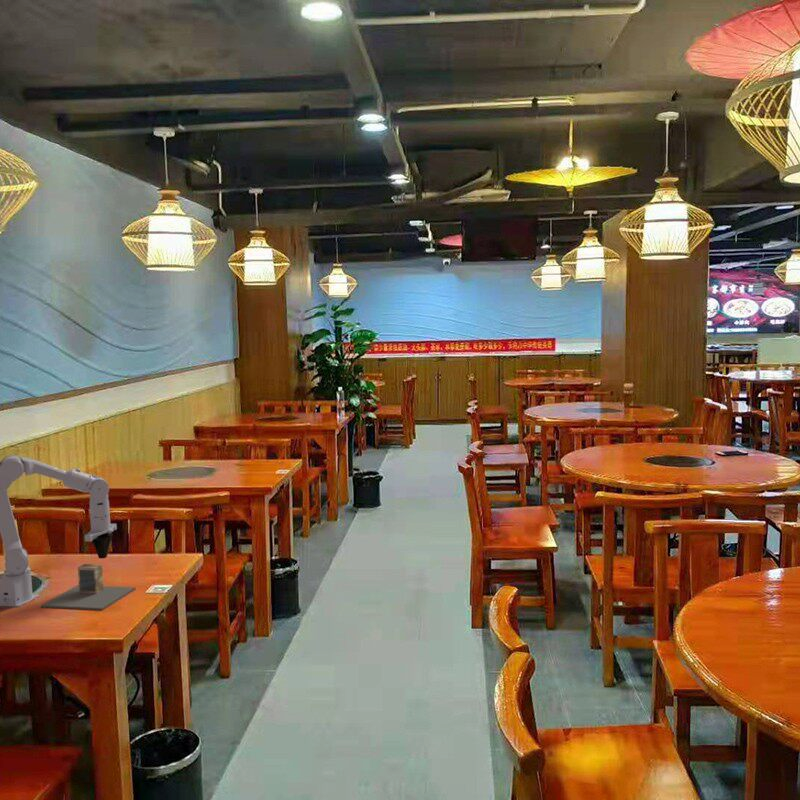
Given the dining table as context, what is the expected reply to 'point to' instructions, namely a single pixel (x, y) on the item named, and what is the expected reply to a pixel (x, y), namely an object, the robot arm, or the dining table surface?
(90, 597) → the mat
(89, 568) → the light wood block
